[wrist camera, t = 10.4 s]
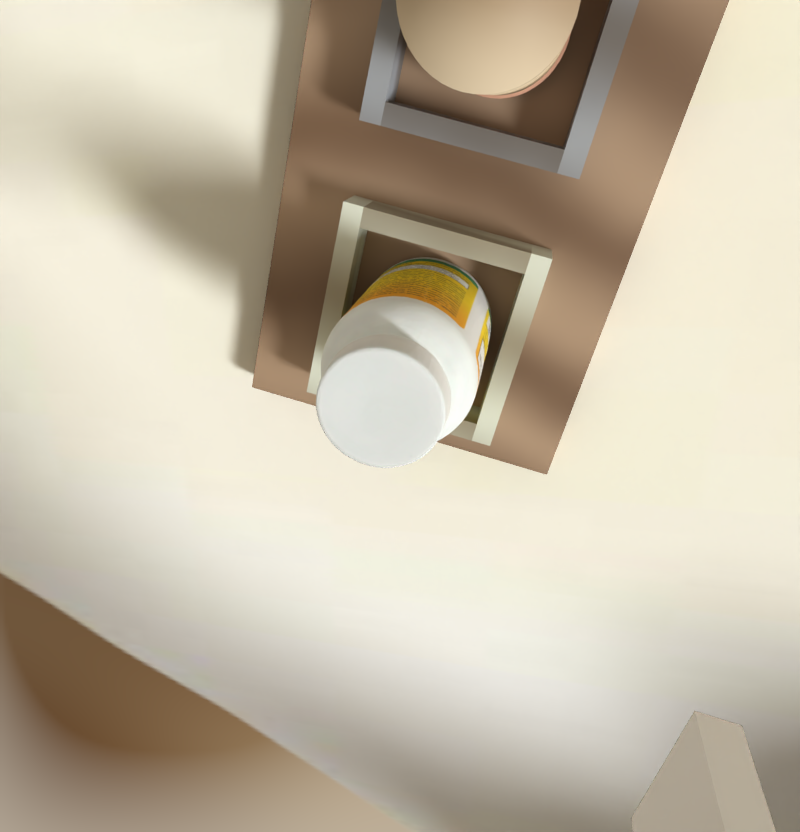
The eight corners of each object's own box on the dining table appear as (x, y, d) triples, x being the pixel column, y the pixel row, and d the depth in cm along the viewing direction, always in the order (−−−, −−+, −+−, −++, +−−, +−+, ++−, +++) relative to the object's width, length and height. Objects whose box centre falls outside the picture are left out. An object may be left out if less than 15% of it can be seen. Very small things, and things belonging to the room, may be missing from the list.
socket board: (546, 461, 33) (546, 494, 30) (261, 377, 33) (237, 402, 31) (762, -104, 23) (791, -131, 20) (353, -202, 24) (329, -241, 21)
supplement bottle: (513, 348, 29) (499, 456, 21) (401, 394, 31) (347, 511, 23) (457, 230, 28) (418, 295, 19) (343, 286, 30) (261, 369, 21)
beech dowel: (546, 112, 26) (549, 119, 18) (425, 80, 26) (373, 73, 18) (590, -33, 24) (617, -101, 16) (458, -66, 24) (416, -149, 16)
